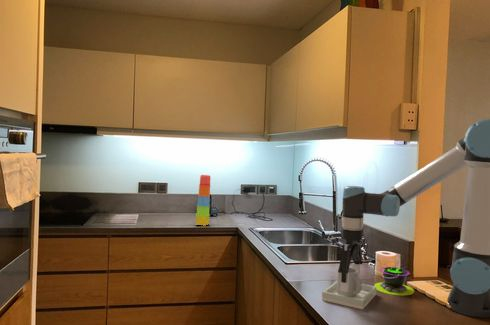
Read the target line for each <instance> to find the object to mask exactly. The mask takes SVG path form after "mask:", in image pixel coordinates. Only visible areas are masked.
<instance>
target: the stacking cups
mask: <svg viewBox="0 0 490 325" xmlns="http://www.w3.org/2000/svg"><path fill="white" fill-rule="evenodd" d="M198 186H199V187H198V194H197V196H198V197H197V204H196V213H195V217H196V218H195V224H198V225H208V224H210V216H211V214H210V207H211V204H210V203H211V202H210V201H211V175H210V174H209V175H208V174H201V175H200V177H199V184H198Z"/></svg>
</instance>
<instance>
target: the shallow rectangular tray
mask: <svg viewBox="0 0 490 325" xmlns="http://www.w3.org/2000/svg"><path fill="white" fill-rule="evenodd" d="M376 295H377V290H376V287H375V286H374V285H371V284H370V285H369V284H363V283H362V288H361V291H360V293H359V294H357V295H356V296H355V297H347V296H343V295H338V293H337V280H336V281H334V282H333V283H332V284H331V285H329V286H328V287H327V288H325V289H323V291H322V293H321V300H322V301H324V302H325V301H326V302H329V303H333V304H337V305H342V306H345V307H351V308H354V309H359V310H364V309H365V308H366V306H368V304H369V303H370V302H371V301H372V300H373V299H374V298H375V297H376Z"/></svg>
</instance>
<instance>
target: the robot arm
mask: <svg viewBox="0 0 490 325" xmlns="http://www.w3.org/2000/svg"><path fill="white" fill-rule="evenodd" d="M466 167H467V168H468V169H467V177H466V187H465V195H464V204H463V212H462V220H461V222H462V223H461V228H460V229H461V231H460V238H459V239H460V240H458V242H456V243H454V246H453V253H452V262H451V266H450V270H449V275H450V278H451V281H452V283H453V285H452V286H451V289H450V292H449V294H448V296H447V300H446V303H447V302H448V303H449V305H450V306H451V309H452V310H451V309H450V310H451V311H452V312H453V311H454V312H455V313H458V314H461V315H465V316H468V317H473V318H479V319H480V318H482V319H488V318H489V319H490V118H483V119H479V120H477V121H475V122H473V123H472V124H471V125H470V126H469V128H467V130H466V133H465V136H464V137H462V138H461V139H460V140H458V141H457V142H456V146H454V147H453V148H451V149H450V150H448V151H447V152H445V153H443V154H442V155H440V156H438V157H437V158H435V159H434V160H432V161H430V162H429V163H428V164H426V165H425V166H423V167H421V168H420V169H419V170H417V171H415V172H413V173H412V174H411V175H409V176H408V177H406V178H404V179H403V180H401V181H399V182H398V183H396V184H395V185H394V186H391V187H390V188H389V189H387V190H386V191H384V192H382V193H372V192H371V193H370V192H366V191H365V190H366V189H365V188H364V186H359V185H358V186H355V185H346V186H345V187H343V192H342V193H343V194H342V214H341V215H342V217H341V218H340V220H341V227H342V228H341V239H343V240H345V243H344V244H342V248H341V249H342V250H341V255H340V260H339V266H338V268H339V270H338V272H340V273H341V279H340V291H345V292H348V284H349V273H348V270H349V268H350V266H351V261H352V267H351V268H354V269H356V270H357V271H358V274H357V276H358V277H359V278H360V279H361V277H360V276H361V265H363V257H362V247H361V241H362V240H363V238H364V230H363V228H364V214H365V215H373V216H374V215H376V216H383V217H397V216H398V215H399V213H400V207H402V206H405V204H407V203H408V202H410V201H411V200H414V199H415V198H416V197H418V196H420V195H422V194H423V193H425V192H426V191H428V190H430V189H431V188H433V187H435V186H436V185H439V183H442V182H443V181H445V180H446V179H448V178H450V177H451V176H453V175H454V174H456V173H458V172H459V171H461V170H463V169H465V168H466Z"/></svg>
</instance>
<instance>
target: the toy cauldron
mask: <svg viewBox="0 0 490 325" xmlns="http://www.w3.org/2000/svg"><path fill="white" fill-rule="evenodd" d="M391 260H392V259H391ZM391 260H389V262H392V261H391ZM396 261H397V262H396V264H401V261H399V262H398V260H397V259H396ZM384 266H385V267H381V268H379V271H380V272H381V274H382V276H381V278H383V281H381V282H376V283H374V285H373V286H375V287H376V291H378V292H381V293H384V294H388V295H393V296H400V297H401V296H410V295H413V294H414V293H415V290H414V289H413V288H412V287H410V286H408V285H405V282H406V280H407V276H408V275H410V274H411V272H410V271H406V269H405V268H401V267H396V266H394V265H392V266H387V265H386V263H384Z"/></svg>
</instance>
